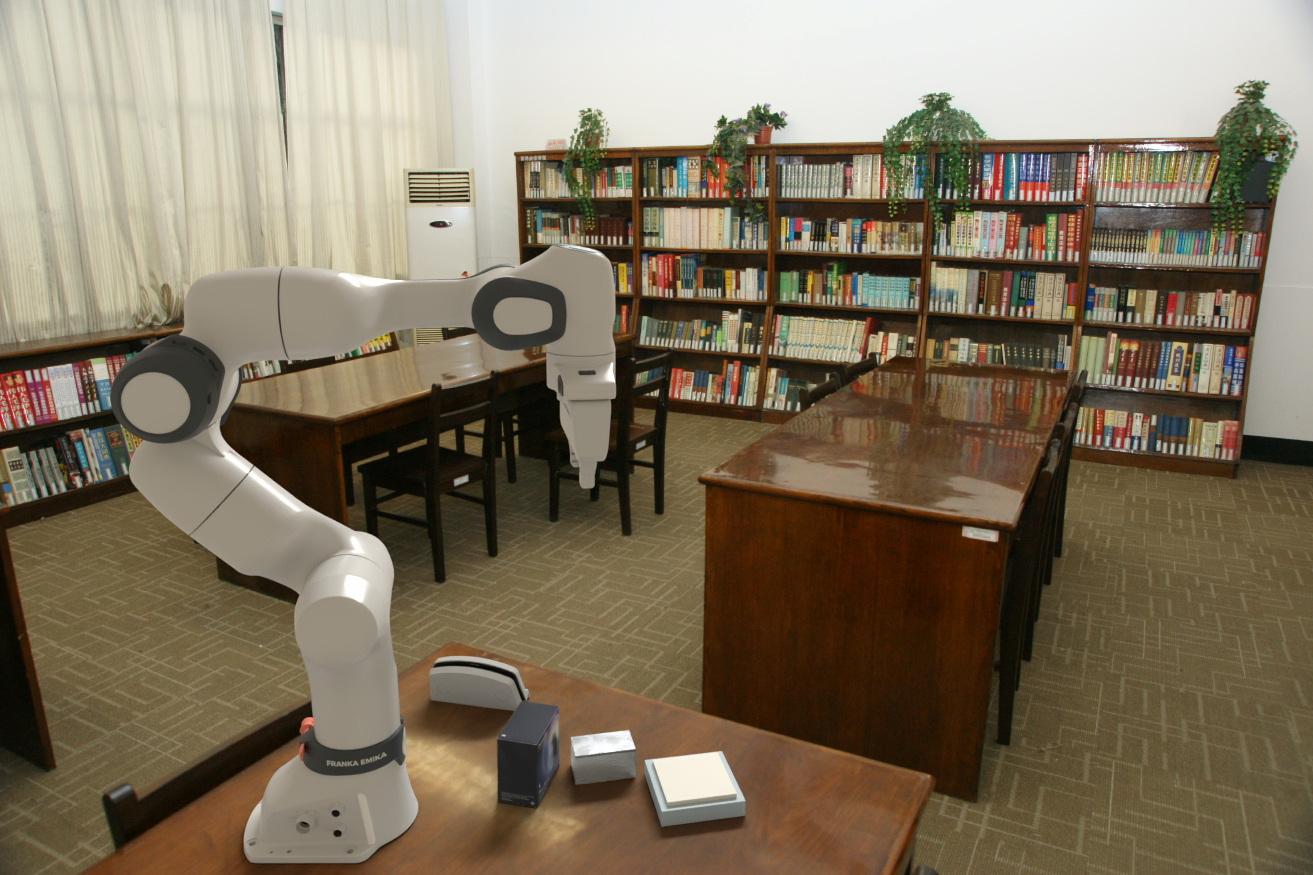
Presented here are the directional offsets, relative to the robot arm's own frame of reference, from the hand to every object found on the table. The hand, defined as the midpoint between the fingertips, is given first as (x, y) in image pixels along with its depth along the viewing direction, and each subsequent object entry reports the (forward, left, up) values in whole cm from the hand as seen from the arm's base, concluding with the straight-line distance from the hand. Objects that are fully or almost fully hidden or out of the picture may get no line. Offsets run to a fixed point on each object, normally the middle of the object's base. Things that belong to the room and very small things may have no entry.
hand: (582, 475), depth 120 cm
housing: (+3, +4, -48) cm, 48 cm away
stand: (+15, -4, -48) cm, 51 cm away
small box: (-8, +3, -48) cm, 49 cm away
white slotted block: (-15, +27, -48) cm, 57 cm away
